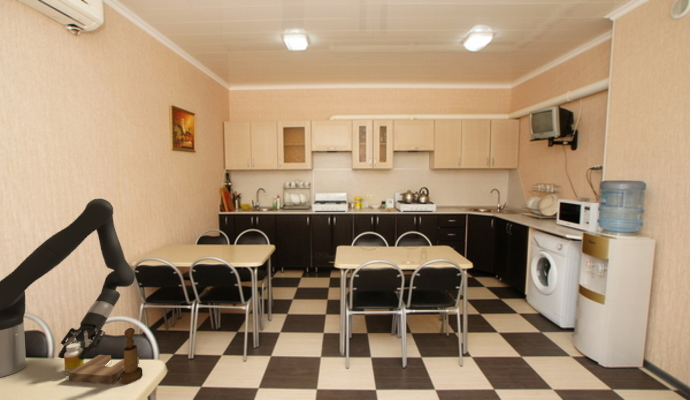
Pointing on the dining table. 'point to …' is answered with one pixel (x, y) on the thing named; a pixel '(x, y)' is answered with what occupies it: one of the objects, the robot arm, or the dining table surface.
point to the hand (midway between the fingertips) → (70, 358)
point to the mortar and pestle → (130, 360)
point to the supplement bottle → (72, 357)
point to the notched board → (98, 371)
